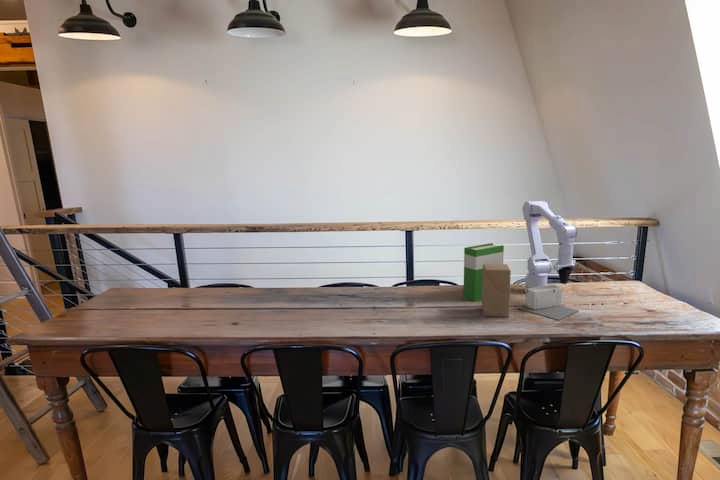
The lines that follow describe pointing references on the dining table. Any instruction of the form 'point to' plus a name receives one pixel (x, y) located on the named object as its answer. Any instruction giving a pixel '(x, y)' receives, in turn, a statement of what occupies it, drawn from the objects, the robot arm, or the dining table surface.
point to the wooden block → (496, 290)
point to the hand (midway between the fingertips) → (563, 283)
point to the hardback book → (479, 267)
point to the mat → (552, 312)
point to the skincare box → (544, 297)
